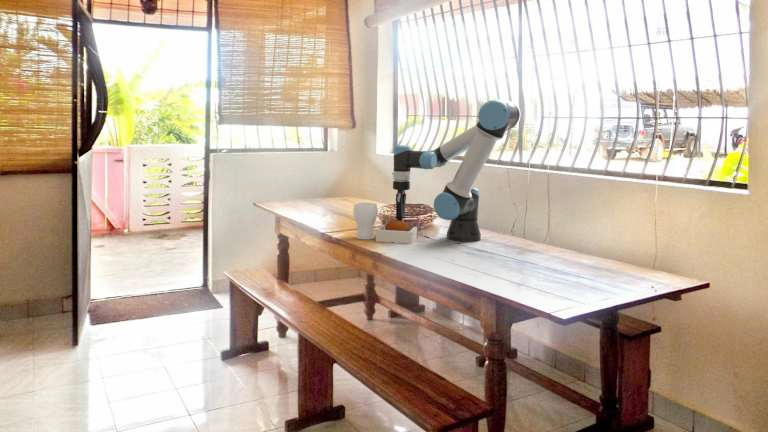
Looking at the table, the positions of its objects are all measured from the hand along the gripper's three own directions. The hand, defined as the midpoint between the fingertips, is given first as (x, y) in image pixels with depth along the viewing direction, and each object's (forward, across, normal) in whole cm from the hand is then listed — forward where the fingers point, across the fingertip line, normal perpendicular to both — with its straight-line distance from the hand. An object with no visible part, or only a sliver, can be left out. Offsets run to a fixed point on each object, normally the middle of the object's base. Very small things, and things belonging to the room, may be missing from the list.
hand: (400, 233), depth 281 cm
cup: (+2, +9, -14) cm, 17 cm away
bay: (+1, +7, 0) cm, 7 cm away
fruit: (+2, +7, 0) cm, 7 cm away
